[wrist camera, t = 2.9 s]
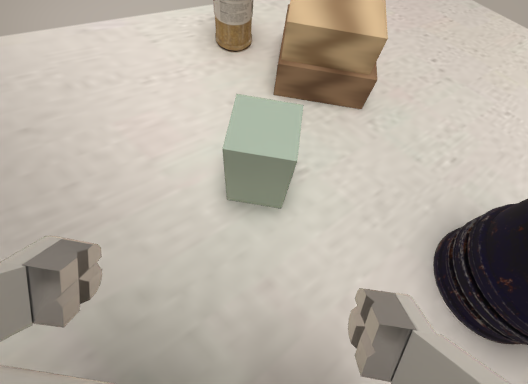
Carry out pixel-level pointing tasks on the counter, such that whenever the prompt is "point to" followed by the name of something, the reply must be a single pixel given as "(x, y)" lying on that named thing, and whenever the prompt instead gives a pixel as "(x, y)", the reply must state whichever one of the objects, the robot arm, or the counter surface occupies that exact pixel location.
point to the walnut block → (322, 83)
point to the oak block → (336, 33)
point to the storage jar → (488, 273)
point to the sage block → (261, 150)
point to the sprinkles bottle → (233, 23)
